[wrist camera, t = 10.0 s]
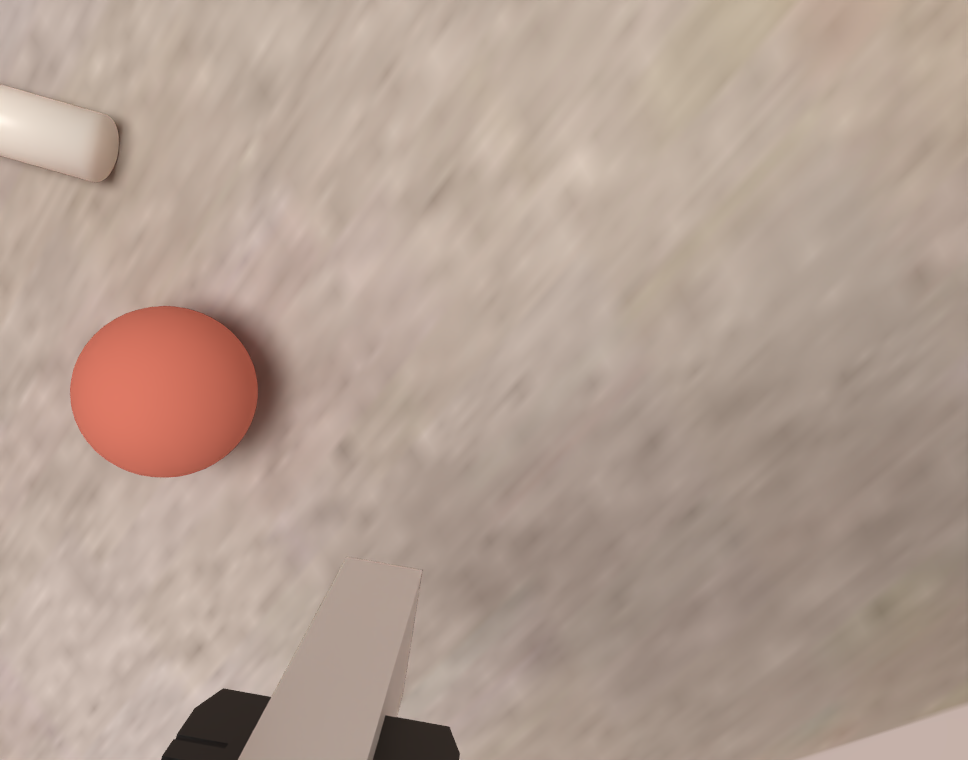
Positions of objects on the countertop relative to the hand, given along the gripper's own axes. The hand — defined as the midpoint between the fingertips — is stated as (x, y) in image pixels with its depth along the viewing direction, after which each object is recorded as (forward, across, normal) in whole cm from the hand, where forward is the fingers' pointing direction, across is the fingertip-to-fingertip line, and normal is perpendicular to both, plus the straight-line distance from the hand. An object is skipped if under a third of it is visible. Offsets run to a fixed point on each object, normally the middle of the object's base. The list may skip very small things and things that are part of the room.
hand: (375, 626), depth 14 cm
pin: (+13, +14, -8) cm, 21 cm away
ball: (+11, +10, 0) cm, 15 cm away
